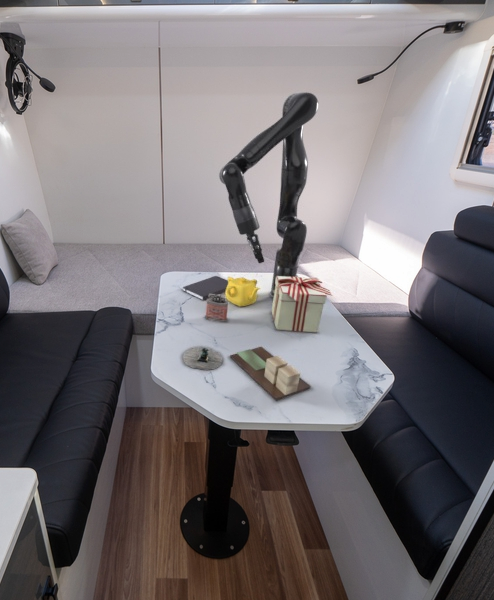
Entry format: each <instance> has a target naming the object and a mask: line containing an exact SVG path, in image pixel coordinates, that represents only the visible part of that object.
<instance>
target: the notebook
mask: <svg viewBox="0 0 494 600" xmlns="http://www.w3.org/2000/svg"><path fill="white" fill-rule="evenodd" d="M227 286H228V279H226V278H223V277H221V276H218V275H214V276H211V277H208V278H205V279H202V280H199V281H197V282H193V283H191V284H188V285H185V286H182V291H183V292H185V293H187V294H189V295H191V296H192V297H195V298H197V299H199V300H201V301H204V300H207V299H208V298H209V294H215V295H218V294H220V295H221V294H222V293H226V288H227Z"/></svg>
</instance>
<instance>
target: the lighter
mask: <svg viewBox="0 0 494 600" xmlns="http://www.w3.org/2000/svg"><path fill="white" fill-rule="evenodd" d="M205 300H206V301H205V302H206V308H205V317H204V318H205V319H206V320H208V321H212V322H216V323H227V321H228V306H229V300H226V296H225V295H222V294H221V293H220V294H218V295H215V294H209V298H207V299H205Z"/></svg>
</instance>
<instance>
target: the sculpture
mask: <svg viewBox="0 0 494 600" xmlns="http://www.w3.org/2000/svg"><path fill="white" fill-rule="evenodd" d="M182 359H183V363H184V364H185V365H186V366H188V367H190V368H192V369H199V370H201V371H210V370H216V369H218V368H219V367H220V366H222V364H223V363H222V362H223V361H224V360H223V357H222V355H221V354H220V353H219V352H218V351H214V350H212V349H211V348H209V347H203V346H200V347H193V348H192V347H191V348H190V349H188V350H186V352H184V354H183V356H182Z"/></svg>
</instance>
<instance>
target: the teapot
mask: <svg viewBox="0 0 494 600" xmlns="http://www.w3.org/2000/svg"><path fill="white" fill-rule="evenodd" d="M227 280H228V286H227V288H226V291H225V292H224V296H225V299H226V301H228V302H229V303H232V304H233V305H236V306H237V307H246V306H249V305H253V304H254V303H256V302H257V299H258V291H259V290H261V287H259V286H257V284H258V280H257V279H254V278H253V279H248V278H246V277H236V278H234V277H232V276H228V277H227Z"/></svg>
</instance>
